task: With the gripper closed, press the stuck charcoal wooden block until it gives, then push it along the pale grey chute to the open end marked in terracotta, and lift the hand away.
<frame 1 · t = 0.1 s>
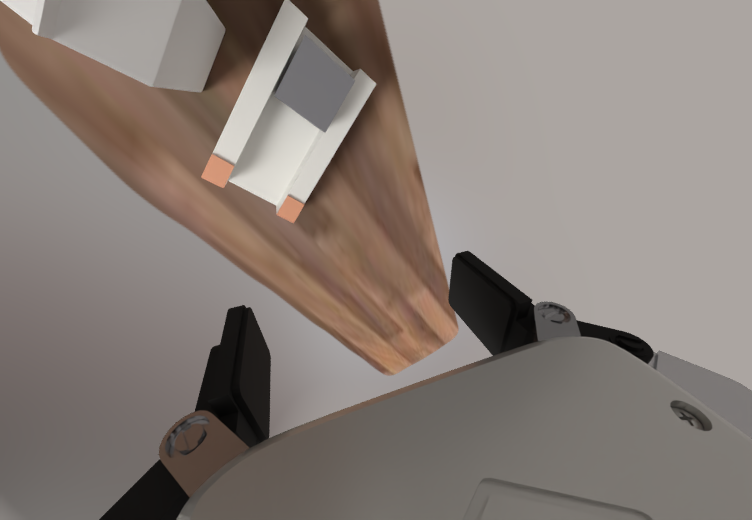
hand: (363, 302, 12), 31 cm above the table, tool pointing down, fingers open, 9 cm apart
chute: (288, 126, 35), on the table
jammed block: (312, 89, 30), point 5 cm above the table, slide at 0.0 cm
milk carton: (177, 37, 28), on the table
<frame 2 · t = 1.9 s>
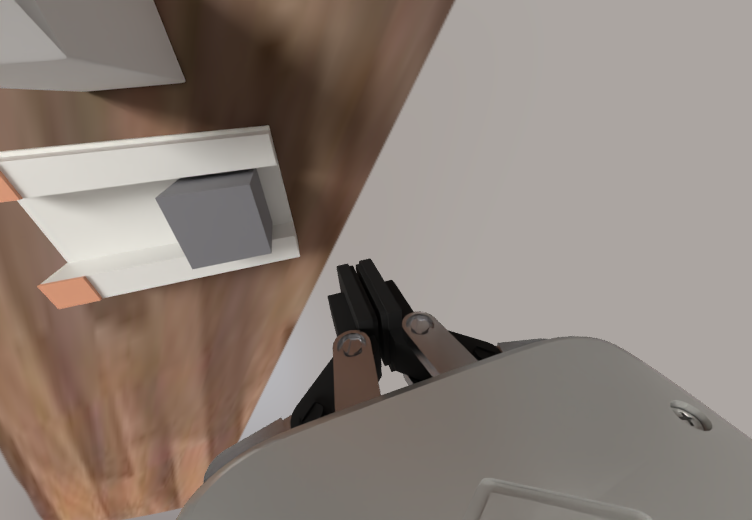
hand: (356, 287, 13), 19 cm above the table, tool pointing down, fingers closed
chute: (177, 205, 25), on the table
jammed block: (226, 213, 23), point 5 cm above the table, slide at 0.0 cm
milk carton: (109, 28, 19), on the table
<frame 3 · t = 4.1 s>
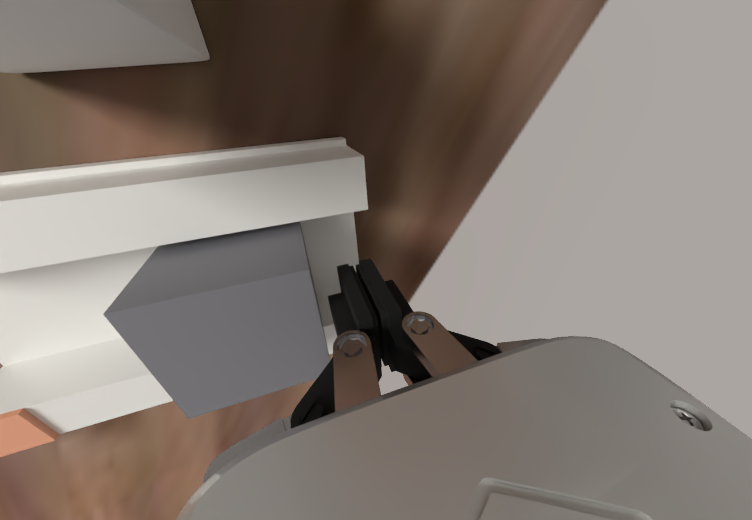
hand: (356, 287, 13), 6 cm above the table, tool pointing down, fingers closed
chute: (188, 265, 16), on the table
jammed block: (250, 296, 13), point 5 cm above the table, slide at 1.2 cm, touching gripper
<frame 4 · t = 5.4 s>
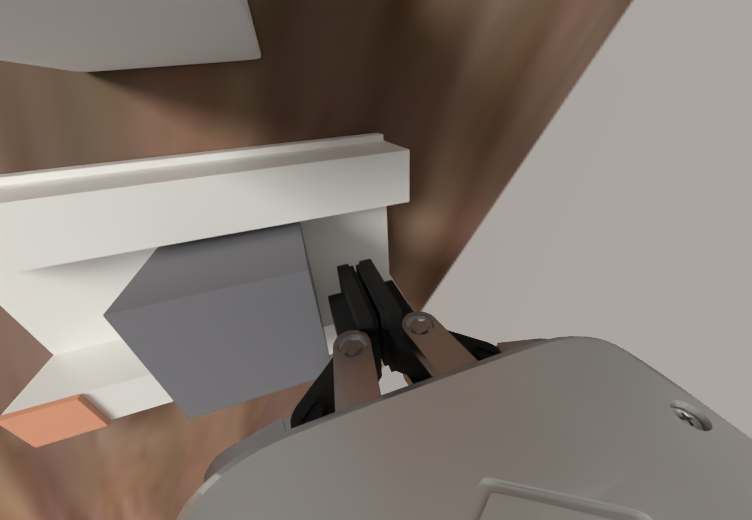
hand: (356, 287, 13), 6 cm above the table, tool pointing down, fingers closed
chute: (227, 257, 16), on the table
jammed block: (250, 296, 13), point 5 cm above the table, slide at 3.4 cm, touching gripper
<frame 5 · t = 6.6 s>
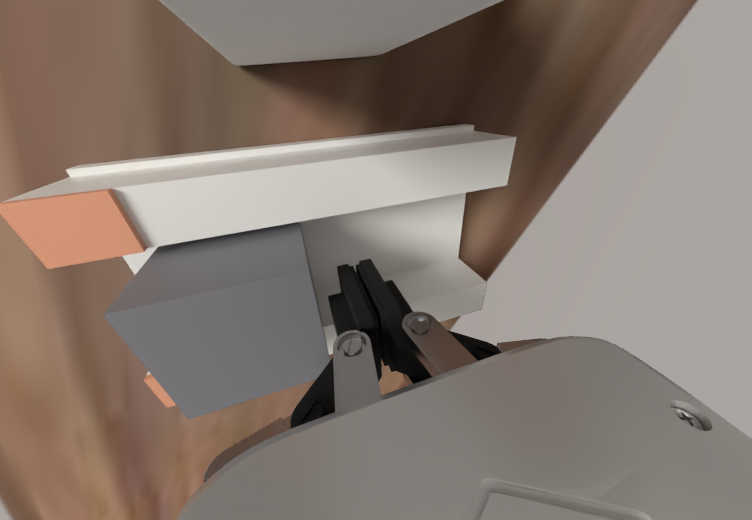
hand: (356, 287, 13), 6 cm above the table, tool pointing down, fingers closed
chute: (321, 239, 18), on the table
jammed block: (250, 296, 13), point 5 cm above the table, slide at 9.1 cm, touching gripper
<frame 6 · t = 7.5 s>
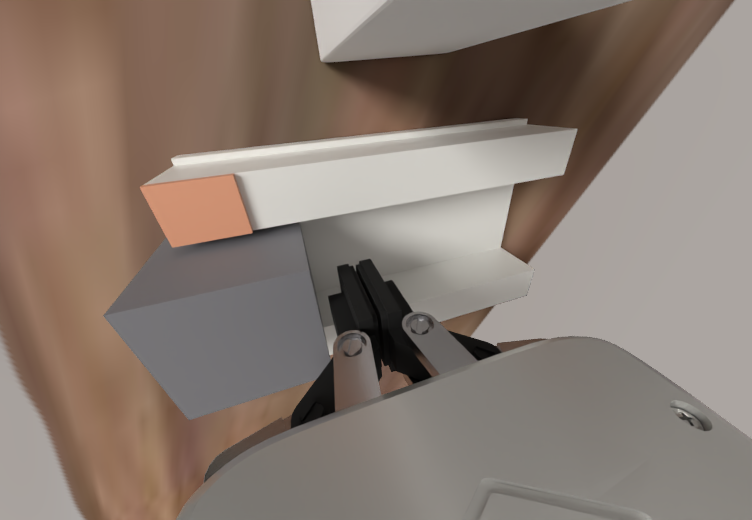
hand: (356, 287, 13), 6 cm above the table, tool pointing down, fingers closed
chute: (378, 228, 18), on the table
jammed block: (250, 297, 13), point 5 cm above the table, slide at 13.1 cm, touching gripper
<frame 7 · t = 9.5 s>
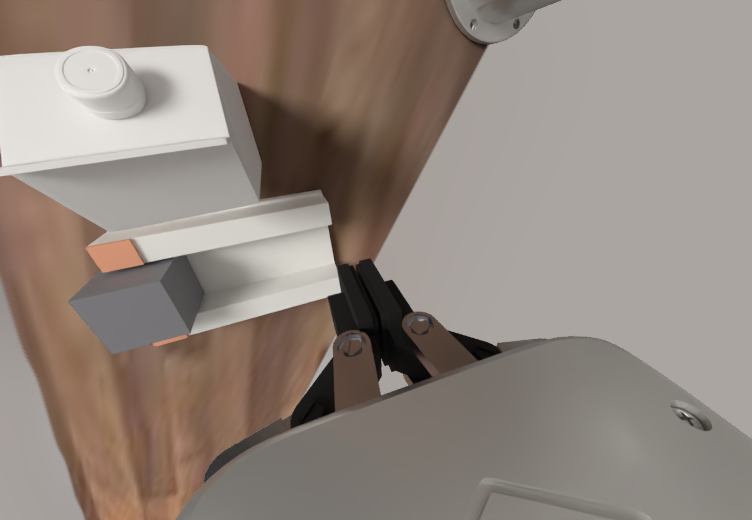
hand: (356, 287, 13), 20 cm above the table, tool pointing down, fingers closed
chute: (244, 255, 31), on the table
jammed block: (149, 296, 25), point 5 cm above the table, slide at 13.0 cm
milk carton: (210, 130, 25), on the table
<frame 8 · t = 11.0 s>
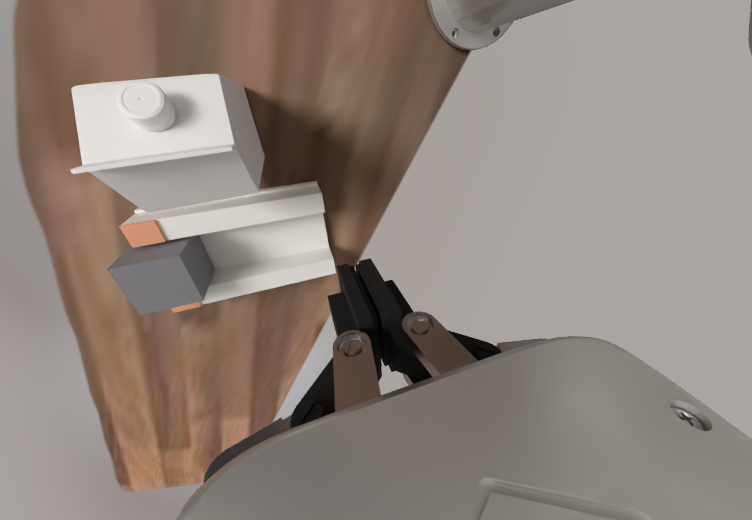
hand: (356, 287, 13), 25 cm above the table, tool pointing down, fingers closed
chute: (249, 237, 35), on the table
jammed block: (170, 269, 30), point 5 cm above the table, slide at 13.0 cm
milk carton: (221, 128, 29), on the table
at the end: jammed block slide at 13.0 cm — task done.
